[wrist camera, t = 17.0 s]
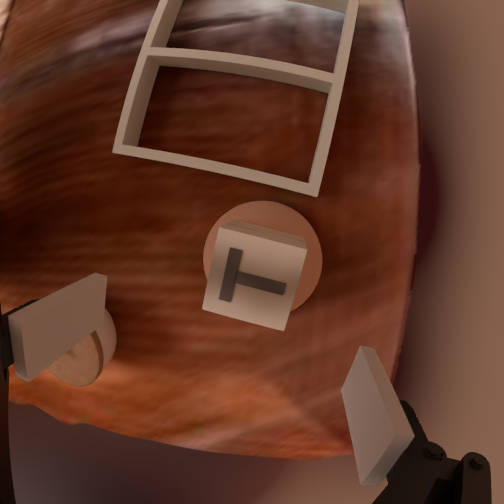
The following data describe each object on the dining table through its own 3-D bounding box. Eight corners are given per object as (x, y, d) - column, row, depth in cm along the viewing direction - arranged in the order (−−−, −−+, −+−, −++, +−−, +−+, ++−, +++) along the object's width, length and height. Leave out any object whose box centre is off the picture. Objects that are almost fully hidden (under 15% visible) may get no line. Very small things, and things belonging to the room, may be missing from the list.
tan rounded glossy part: (302, 324, 35) (303, 330, 33) (197, 296, 36) (193, 300, 34) (334, 217, 32) (336, 218, 31) (220, 188, 33) (217, 188, 32)
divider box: (314, 196, 32) (317, 197, 29) (127, 155, 34) (112, 152, 30) (364, -47, 25) (368, -62, 22) (207, -67, 27) (201, -81, 23)
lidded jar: (68, 270, 37) (21, 290, 28) (137, 303, 37) (96, 334, 28) (62, 337, 40) (21, 365, 30) (123, 371, 39) (89, 409, 30)
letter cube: (285, 302, 33) (283, 331, 26) (219, 285, 33) (201, 309, 27) (304, 236, 32) (307, 250, 25) (234, 219, 32) (218, 227, 25)
